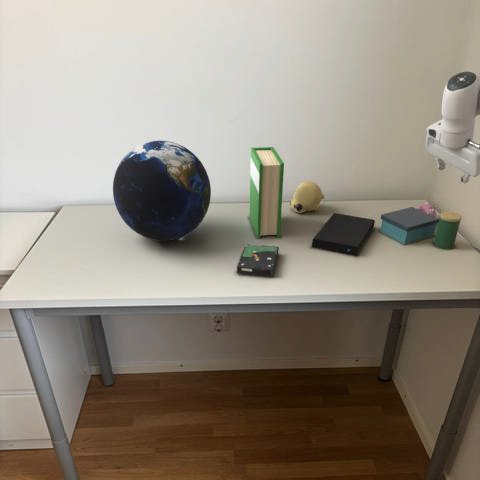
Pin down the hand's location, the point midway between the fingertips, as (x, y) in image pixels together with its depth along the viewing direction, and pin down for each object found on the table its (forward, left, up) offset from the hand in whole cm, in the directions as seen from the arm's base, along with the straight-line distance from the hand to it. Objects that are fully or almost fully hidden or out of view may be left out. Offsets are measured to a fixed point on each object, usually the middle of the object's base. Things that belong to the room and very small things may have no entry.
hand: (452, 175), depth 154 cm
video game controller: (-7, -13, -21) cm, 26 cm away
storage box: (+6, -8, -21) cm, 23 cm away
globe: (+76, -45, -21) cm, 90 cm away
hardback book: (+44, -36, -21) cm, 60 cm away
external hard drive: (+26, -16, -21) cm, 37 cm away
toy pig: (+23, -41, -21) cm, 51 cm away
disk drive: (+60, -14, -21) cm, 65 cm away
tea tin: (+2, +4, -21) cm, 22 cm away
